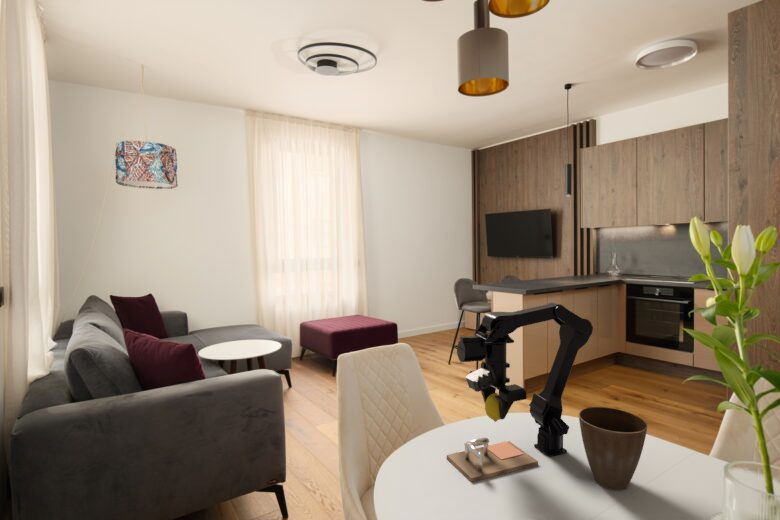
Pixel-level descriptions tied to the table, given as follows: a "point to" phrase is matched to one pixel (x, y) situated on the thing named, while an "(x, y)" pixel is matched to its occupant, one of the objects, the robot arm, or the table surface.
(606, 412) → the plant pot
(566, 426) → the robot arm
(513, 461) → the walnut board
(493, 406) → the lemon
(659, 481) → the table surface
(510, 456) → the terracotta tile
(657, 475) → the table surface
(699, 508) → the table surface
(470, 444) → the bent wire
